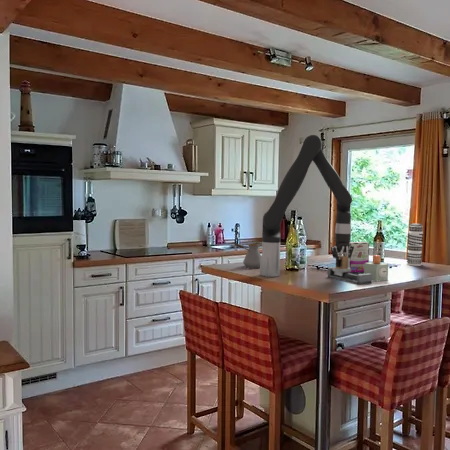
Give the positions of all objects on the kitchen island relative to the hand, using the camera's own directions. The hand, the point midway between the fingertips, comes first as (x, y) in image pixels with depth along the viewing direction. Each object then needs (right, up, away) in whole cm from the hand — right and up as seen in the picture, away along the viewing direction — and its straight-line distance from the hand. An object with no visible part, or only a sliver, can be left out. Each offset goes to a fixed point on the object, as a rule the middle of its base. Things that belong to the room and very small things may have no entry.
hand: (341, 266), depth 238 cm
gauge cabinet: (+17, -6, -1) cm, 18 cm away
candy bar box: (+13, -5, +20) cm, 24 cm away
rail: (+3, -6, -4) cm, 8 cm away
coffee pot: (-47, -3, +26) cm, 54 cm away
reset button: (+17, +2, -2) cm, 17 cm away
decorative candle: (+57, -4, +51) cm, 76 cm away
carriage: (0, -4, 0) cm, 4 cm away
